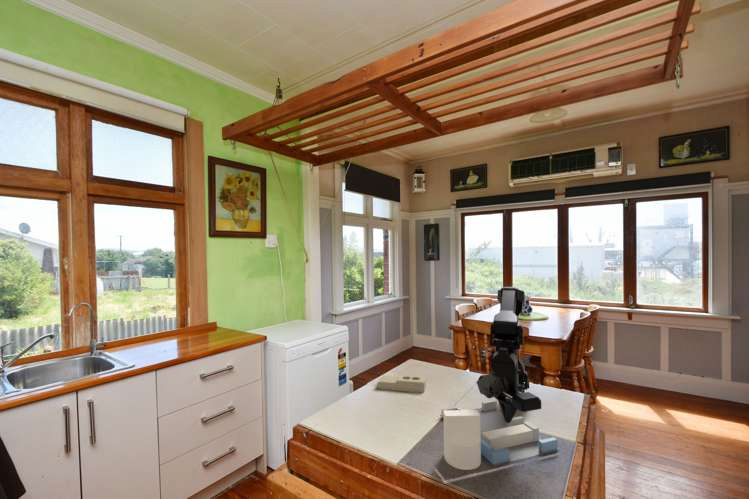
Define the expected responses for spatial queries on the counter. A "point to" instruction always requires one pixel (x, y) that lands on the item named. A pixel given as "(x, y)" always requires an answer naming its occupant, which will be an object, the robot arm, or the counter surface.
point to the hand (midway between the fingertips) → (507, 422)
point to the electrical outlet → (403, 383)
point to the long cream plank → (511, 435)
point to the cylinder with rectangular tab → (462, 438)
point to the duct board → (495, 420)
